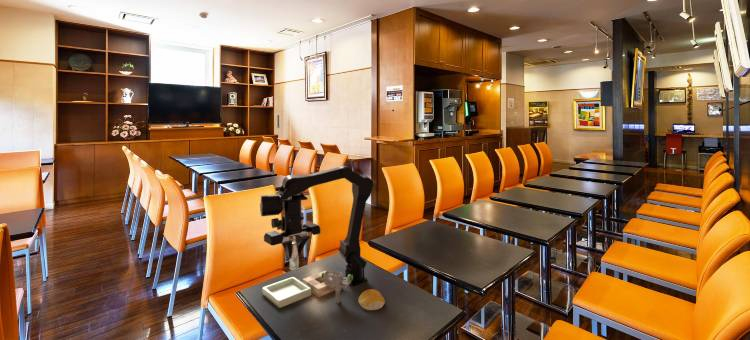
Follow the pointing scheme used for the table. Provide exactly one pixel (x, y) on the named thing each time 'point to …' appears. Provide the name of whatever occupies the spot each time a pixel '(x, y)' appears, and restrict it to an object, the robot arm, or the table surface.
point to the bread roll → (371, 300)
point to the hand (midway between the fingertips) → (293, 257)
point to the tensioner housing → (318, 285)
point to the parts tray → (286, 291)
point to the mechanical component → (336, 281)
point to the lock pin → (294, 257)
